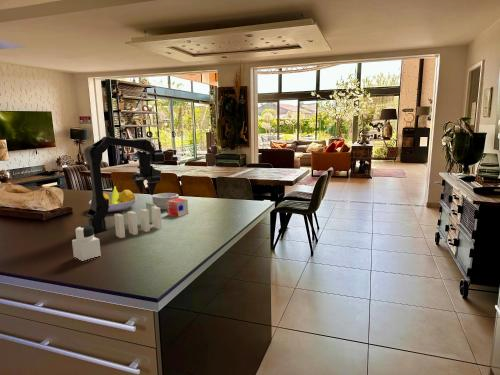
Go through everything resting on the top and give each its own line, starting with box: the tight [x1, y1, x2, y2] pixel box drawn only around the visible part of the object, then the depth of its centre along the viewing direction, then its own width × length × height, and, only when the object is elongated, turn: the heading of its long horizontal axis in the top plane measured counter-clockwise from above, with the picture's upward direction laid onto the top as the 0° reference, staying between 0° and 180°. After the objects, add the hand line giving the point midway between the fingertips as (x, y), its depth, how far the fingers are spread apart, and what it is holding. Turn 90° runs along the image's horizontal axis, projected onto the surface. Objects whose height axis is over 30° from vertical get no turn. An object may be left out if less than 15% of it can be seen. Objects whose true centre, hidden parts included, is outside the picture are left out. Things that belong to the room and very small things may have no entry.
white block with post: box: [71, 224, 102, 262], centre depth 128 cm, size 7×7×12 cm
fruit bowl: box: [88, 185, 137, 213], centre depth 203 cm, size 28×27×11 cm
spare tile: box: [145, 201, 155, 224], centre depth 174 cm, size 2×5×10 cm, turn 44°
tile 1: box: [113, 213, 126, 239], centre depth 152 cm, size 2×5×10 cm, turn 44°
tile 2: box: [126, 210, 139, 236], centre depth 156 cm, size 2×5×10 cm, turn 44°
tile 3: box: [139, 208, 151, 233], centre depth 160 cm, size 2×5×10 cm, turn 44°
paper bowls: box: [151, 192, 180, 211], centre depth 203 cm, size 15×15×8 cm
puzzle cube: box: [166, 198, 189, 218], centre depth 188 cm, size 8×8×8 cm
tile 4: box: [151, 205, 163, 230], centre depth 164 cm, size 2×5×10 cm, turn 44°
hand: (146, 193), depth 177 cm, fingers open, 9 cm apart
